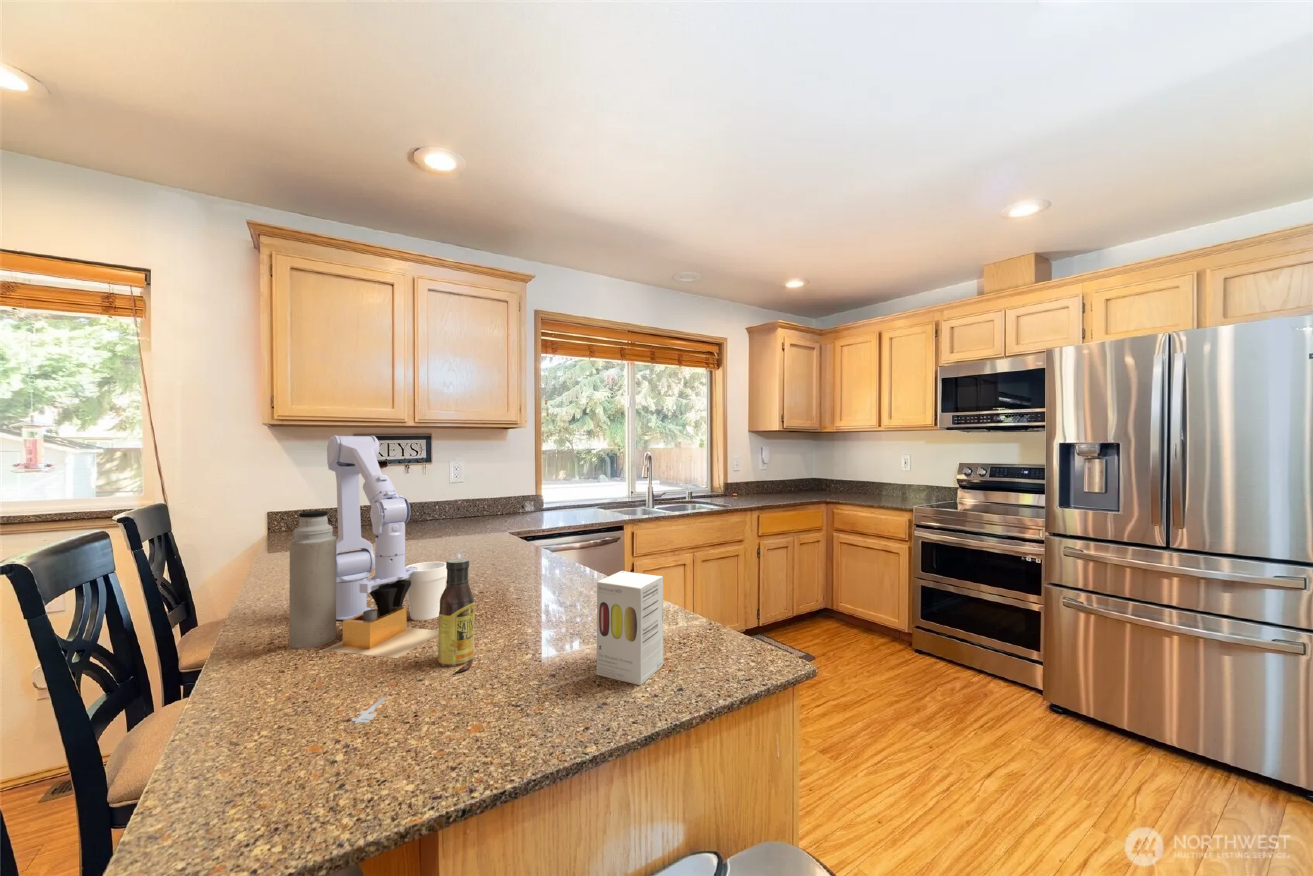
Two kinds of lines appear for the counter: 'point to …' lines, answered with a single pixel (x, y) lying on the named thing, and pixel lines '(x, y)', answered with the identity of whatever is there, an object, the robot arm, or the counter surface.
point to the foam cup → (426, 589)
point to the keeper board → (389, 641)
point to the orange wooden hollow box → (374, 628)
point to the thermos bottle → (312, 582)
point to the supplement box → (629, 626)
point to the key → (365, 713)
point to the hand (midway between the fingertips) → (390, 617)
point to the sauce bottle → (456, 618)
